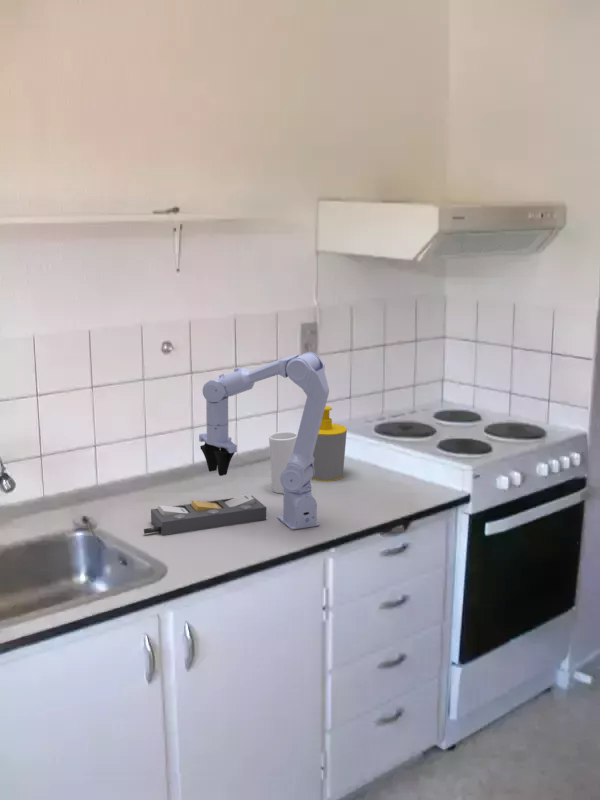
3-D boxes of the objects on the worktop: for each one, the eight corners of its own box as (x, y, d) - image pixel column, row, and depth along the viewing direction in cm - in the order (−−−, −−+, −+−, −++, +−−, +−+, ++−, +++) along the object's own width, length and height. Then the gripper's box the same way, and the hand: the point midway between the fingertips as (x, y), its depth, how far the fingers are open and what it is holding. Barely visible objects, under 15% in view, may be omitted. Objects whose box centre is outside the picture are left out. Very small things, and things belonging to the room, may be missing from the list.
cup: (289, 495, 252) (286, 440, 249) (266, 490, 257) (263, 437, 253) (306, 486, 259) (303, 433, 255) (283, 482, 263) (280, 430, 260)
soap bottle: (300, 469, 277) (301, 402, 272) (342, 468, 279) (344, 402, 274) (305, 482, 265) (306, 412, 260) (349, 481, 266) (351, 412, 261)
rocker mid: (221, 514, 233) (223, 508, 233) (196, 511, 230) (198, 506, 230) (215, 508, 237) (216, 503, 237) (190, 505, 234) (192, 500, 234)
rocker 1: (188, 519, 229) (189, 513, 229) (162, 516, 226) (164, 510, 226) (182, 512, 233) (184, 507, 233) (157, 510, 230) (158, 504, 230)
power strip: (266, 519, 234) (266, 506, 233) (146, 537, 221) (146, 523, 220) (251, 507, 243) (251, 494, 242) (135, 524, 230) (135, 510, 229)
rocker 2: (255, 503, 236) (253, 498, 236) (231, 512, 234) (229, 507, 234) (248, 497, 241) (247, 492, 240) (224, 507, 238) (223, 502, 238)
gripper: (246, 426, 233) (246, 476, 236) (214, 415, 243) (214, 463, 246) (224, 430, 228) (224, 481, 231) (192, 419, 239) (192, 468, 242)
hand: (217, 472), depth 239 cm, fingers open, 4 cm apart
